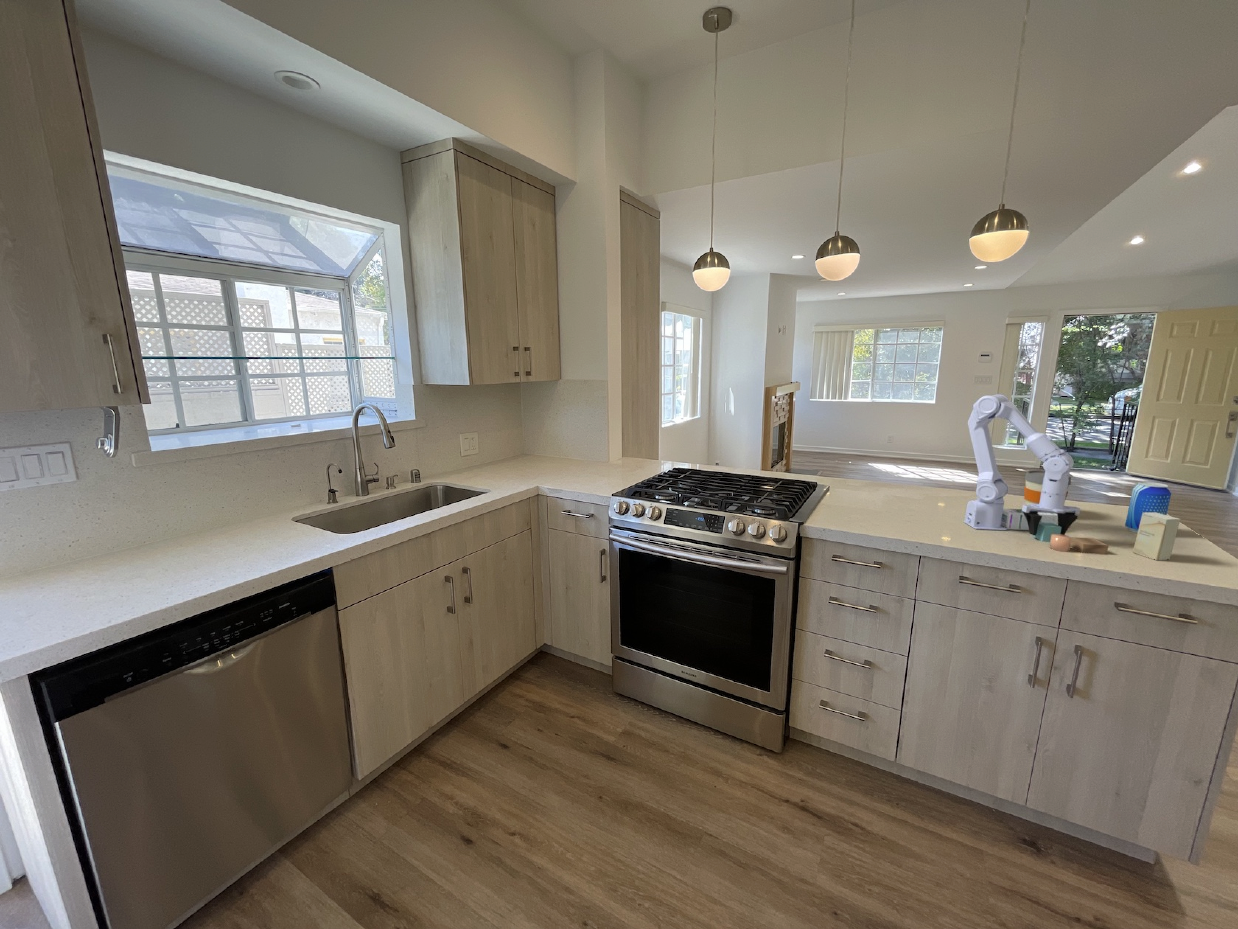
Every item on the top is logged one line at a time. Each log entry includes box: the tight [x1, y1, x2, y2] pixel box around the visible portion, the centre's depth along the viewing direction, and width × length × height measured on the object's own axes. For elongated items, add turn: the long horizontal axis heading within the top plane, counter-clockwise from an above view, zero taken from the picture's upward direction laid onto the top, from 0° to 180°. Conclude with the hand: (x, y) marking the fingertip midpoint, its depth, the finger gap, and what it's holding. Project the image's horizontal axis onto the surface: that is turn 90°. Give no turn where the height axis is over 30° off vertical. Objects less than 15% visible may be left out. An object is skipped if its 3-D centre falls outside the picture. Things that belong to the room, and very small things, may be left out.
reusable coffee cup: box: [1023, 469, 1072, 515], centre depth 176 cm, size 13×13×15 cm
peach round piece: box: [1048, 534, 1072, 553], centre depth 144 cm, size 4×4×4 cm
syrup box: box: [1001, 508, 1058, 531], centre depth 163 cm, size 6×6×14 cm
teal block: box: [1032, 522, 1061, 543], centre depth 152 cm, size 4×4×5 cm
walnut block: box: [1070, 536, 1109, 555], centre depth 143 cm, size 6×6×3 cm
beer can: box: [1124, 481, 1172, 534], centre depth 156 cm, size 8×8×16 cm
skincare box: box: [1132, 512, 1181, 561], centre depth 137 cm, size 6×4×12 cm
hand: (1046, 535), depth 152 cm, fingers open, 7 cm apart
